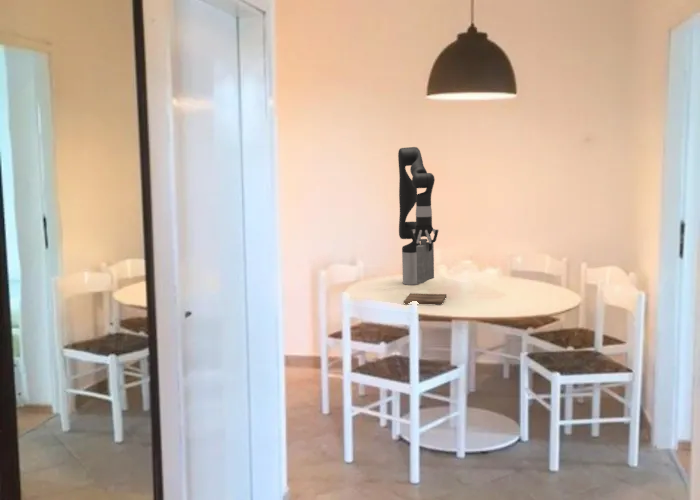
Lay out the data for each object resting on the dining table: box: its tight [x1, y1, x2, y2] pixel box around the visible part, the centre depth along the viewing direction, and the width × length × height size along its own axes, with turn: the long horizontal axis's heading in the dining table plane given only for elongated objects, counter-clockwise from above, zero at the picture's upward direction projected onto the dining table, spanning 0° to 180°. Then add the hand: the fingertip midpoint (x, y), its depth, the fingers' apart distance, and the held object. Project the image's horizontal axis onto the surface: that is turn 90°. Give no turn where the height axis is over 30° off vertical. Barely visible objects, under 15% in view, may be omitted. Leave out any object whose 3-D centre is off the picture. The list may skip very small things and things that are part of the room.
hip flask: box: [416, 238, 435, 285], centre depth 381 cm, size 16×4×20 cm, turn 152°
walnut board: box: [403, 293, 448, 305], centre depth 384 cm, size 18×18×2 cm
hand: (424, 250), depth 380 cm, fingers closed on hip flask, 4 cm apart
